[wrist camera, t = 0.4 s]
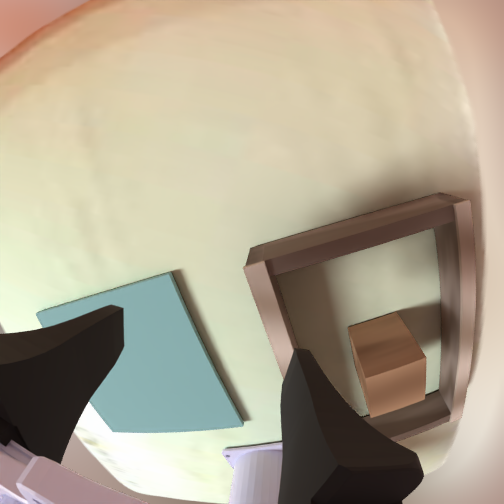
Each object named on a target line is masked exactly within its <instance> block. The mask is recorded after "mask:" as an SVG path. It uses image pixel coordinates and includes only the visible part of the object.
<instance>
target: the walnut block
mask: <svg viewBox="0 0 504 504" xmlns="http://www.w3.org/2000/svg"><path fill="white" fill-rule="evenodd" d="M348 332H349V337H350V342H351V347H352V352H353V358H354V363H355V367H356V371H357V374H358V377H359V380H360V383H361V387H362V390H363V393H364V397H365V400H366V403H367V407H368V410H369V414H370V417H371V418H373V417H376V416H379V415H382V414H385V413H388V412H391V411H394V410H397V409H400V408H403V407H406V406H408V405H411V404H414V403H417V402H419V401H422V400H424V399H425V388H426V356H425V355H424V353H423V351H422V350H421V348H420V347H419V345H418V344H417V342H416V340H415V339H414V337H413V336H412V334H411V333H410V331H409V330H408V328H407V327H406V325H405V324H404V322H403V321H402V319H401V318H400V316H399V315H398V313H397V312H394V313H391V314H388V315H385V316H382V317H379V318H376V319H373V320H370V321H367V322H364V323H360V324H357V325H354V326H351V327H348Z"/></svg>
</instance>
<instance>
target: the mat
mask: <svg viewBox="0 0 504 504" xmlns="http://www.w3.org/2000/svg"><path fill="white" fill-rule="evenodd" d="M111 304H112V305H115V306H119V307H122V308H124V349H123V351H122V352H121V354H120V356H119V358H118V360H117V362H116V364H115V365H114V367H113V368H112V370H111V371H110V372H109V374H108V375H107V376H106V378H105V379H104V381H103V382H102V383H101V385H100V386H99V387H98V389H97V390H96V392H95V393H94V394H93V396H92V397H91V399H90V400H89V402H90V403H91V405H92V406H93V407H94V409H95V410H96V411H97V413H98V414H99V415H100V416H101V418H102V419H103V420H104V422H105V423H106V424H107V425H108V427H109V428H110V429H111V430H112V431H113V432H130V433H163V432H188V431H203V430H215V429H225V428H234V427H242V426H243V425H244V422H243V420H242V418H241V416H240V415H239V413H238V411H237V409H236V407H235V405H234V404H233V402H232V400H231V398H230V396H229V394H228V392H227V390H226V388H225V386H224V385H223V383H222V381H221V379H220V377H219V375H218V373H217V371H216V369H215V367H214V365H213V363H212V361H211V359H210V357H209V355H208V353H207V351H206V348H205V346H204V344H203V342H202V340H201V338H200V336H199V334H198V332H197V329H196V327H195V325H194V323H193V321H192V319H191V316H190V314H189V312H188V310H187V308H186V305H185V303H184V301H183V298H182V296H181V294H180V292H179V289H178V287H177V285H176V282H175V280H174V278H173V275H172V273H171V272H168V273H165V274H162V275H158V276H155V277H152V278H148V279H145V280H142V281H138V282H135V283H132V284H128V285H125V286H122V287H118V288H115V289H112V290H108V291H105V292H102V293H98V294H95V295H92V296H89V297H85V298H82V299H79V300H75V301H72V302H69V303H65V304H62V305H59V306H56V307H52V308H49V309H46V310H42V311H39V312H37V313H36V316H37V318H38V319H39V321H40V323H41V325H42V327H43V328H45V327H49V326H53V325H56V324H59V323H62V322H65V321H68V320H71V319H74V318H76V317H79V316H81V315H84V314H86V313H89V312H92V311H94V310H97V309H99V308H102V307H104V306H107V305H111Z"/></svg>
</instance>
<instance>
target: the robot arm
mask: <svg viewBox="0 0 504 504" xmlns="http://www.w3.org/2000/svg"><path fill="white" fill-rule="evenodd" d="M123 349H124V308H122V307H119V306H115V305H112V304H111V305H107V306H104V307H102V308H99V309H97V310H94V311H92V312H89V313H86V314H84V315H81V316H79V317H76V318H74V319H71V320H68V321H65V322H62V323H59V324H56V325H53V326H49V327H45V328H41V329H37V330H32V331H25V332H18V333H7V334H0V504H150V503H147V502H145V501H142V500H140V499H137V498H135V497H132V496H130V495H127V494H125V493H122V492H119V491H117V490H114V489H112V488H109V487H107V486H104V485H102V484H100V483H97V482H95V481H93V480H91V479H88V478H86V477H84V476H82V475H80V474H78V473H76V472H74V471H72V470H70V469H68V468H66V467H64V466H62V465H60V464H61V461H62V458H63V455H64V453H65V450H66V447H67V445H68V443H69V440H70V438H71V435H72V433H73V431H74V429H75V427H76V424H77V422H78V420H79V418H80V416H81V414H82V412H83V411H84V409H85V407H86V405H87V403H88V402H89V400H90V399H91V397H92V396H93V394H94V393H95V392H96V390H97V389H98V387H99V386H100V385H101V383H102V382H103V381H104V379H105V378H106V376H107V375H108V374H109V372H110V371H111V370H112V368H113V367H114V365H115V364H116V362H117V360H118V358H119V356H120V354H121V352H122V351H123ZM280 406H281V428H282V442H279V443H272V444H265V445H258V446H249V447H240V448H229V449H223V450H222V454H223V456H224V457H225V458H226V460H227V461H228V463H229V464H230V465H231V467H232V468H233V469H234V472H233V479H232V485H231V492H230V498H229V504H402V500H403V499H405V498H406V497H407V496H408V495H409V494H410V493H411V492H412V491H413V490H415V489H416V488H417V486H418V485H419V484H420V483H421V482H422V479H423V477H424V473H423V470H422V467H421V464H420V461H419V458H418V456H417V454H416V453H415V452H413V451H411V450H409V449H407V448H405V447H403V446H401V445H399V444H398V443H396V442H394V441H392V440H391V439H389V438H388V437H386V436H385V435H383V434H382V433H380V432H379V431H378V430H376V429H375V428H374V427H372V426H371V425H370V424H369V423H367V422H366V421H365V420H364V419H363V418H361V417H360V416H359V415H358V414H357V413H356V412H355V411H354V410H353V409H352V408H351V407H350V406H349V405H348V404H347V403H346V402H345V400H344V399H343V398H342V397H341V396H340V394H339V393H338V392H337V391H336V390H335V388H334V387H333V386H332V384H331V383H330V381H329V380H328V379H327V377H326V376H325V374H324V373H323V371H322V370H321V368H320V367H319V365H318V363H317V362H316V360H315V359H314V357H313V355H312V354H311V352H310V351H309V350H304V349H298V348H294V351H293V354H292V357H291V360H290V363H289V366H288V369H287V372H286V375H285V378H284V381H283V384H282V392H281V404H280Z"/></svg>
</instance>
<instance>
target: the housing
mask: <svg viewBox="0 0 504 504" xmlns="http://www.w3.org/2000/svg"><path fill="white" fill-rule="evenodd" d="M430 228H434V229H435V236H436V245H437V253H438V264H439V276H440V291H441V325H442V333H441V366H440V382H439V391H437V392H434V393H432V394H430V395H427V396H425V399H424V400H422V401H419V402H417V403H414V404H411V405H408V406H406V407H403V408H400V409H397V410H394V411H391V412H388V413H385V414H382V415H379V416H376V417H373V418H371V417H370V416H366V417H363V419H364V420H365V421H366V422H367V423H369V424H370V425H371V426H372V427H374V428H375V429H376V430H378V431H379V432H380V433H382V434H383V435H385V436H386V437H388V438H389V439H391V440H392V441H394V442H397V441H400V440H402V439H405V438H408V437H411V436H413V435H416V434H419V433H421V432H424V431H426V430H429V429H431V428H434V427H436V426H439V425H441V424H443V423H446V422H448V421H450V423H451V422H454V421H456V420H458V419H460V418H461V417H462V413H463V408H464V403H465V398H466V393H467V387H468V381H469V374H470V367H471V360H472V351H473V341H474V329H475V311H476V260H475V242H474V229H473V219H472V210H471V203H470V200H464V199H461V198H457V197H454V196H451V195H447V194H443V193H437V194H434V195H430V196H427V197H423V198H420V199H416V200H413V201H410V202H406V203H403V204H399V205H396V206H392V207H389V208H385V209H382V210H379V211H375V212H372V213H368V214H365V215H361V216H358V217H355V218H351V219H348V220H344V221H341V222H337V223H334V224H331V225H327V226H324V227H320V228H317V229H314V230H310V231H307V232H303V233H300V234H296V235H293V236H290V237H286V238H283V239H280V240H276V241H273V242H269V243H266V244H263V245H259V246H256V247H252V248H250V252H249V255H248V259H247V262H246V265H245V266H244V267H243V270H244V272H245V275H246V278H247V281H248V284H249V286H250V289H251V292H252V295H253V297H254V300H255V303H256V306H257V308H258V311H259V314H260V317H261V319H262V322H263V325H264V328H265V330H266V333H267V336H268V339H269V341H270V344H271V347H272V349H273V352H274V355H275V358H276V360H277V363H278V366H279V368H280V371H281V374H282V376H283V379H284V378H285V375H286V372H287V369H288V366H289V363H290V360H291V357H292V354H293V351H294V348H298V345H297V342H296V338H295V335H294V332H293V329H292V326H291V323H290V320H289V316H288V313H287V310H286V307H285V304H284V301H283V298H282V295H281V291H280V288H279V285H278V282H277V279H276V276H275V275H278V274H282V273H285V272H289V271H292V270H296V269H299V268H303V267H306V266H310V265H313V264H316V263H320V262H323V261H327V260H330V259H333V258H337V257H340V256H344V255H347V254H350V253H354V252H357V251H360V250H363V249H367V248H370V247H373V246H377V245H380V244H383V243H386V242H390V241H393V240H396V239H399V238H402V237H405V236H409V235H412V234H415V233H418V232H421V231H424V230H427V229H430ZM298 349H299V348H298Z"/></svg>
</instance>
